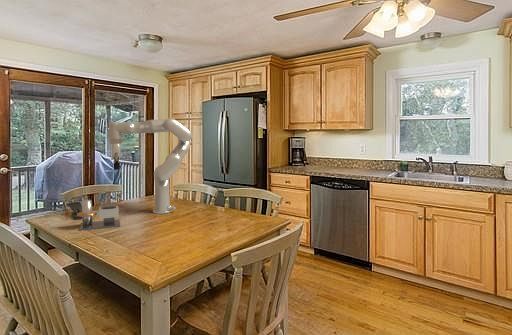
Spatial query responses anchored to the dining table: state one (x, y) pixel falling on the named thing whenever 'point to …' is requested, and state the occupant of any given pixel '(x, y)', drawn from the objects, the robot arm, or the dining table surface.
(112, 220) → the grey block
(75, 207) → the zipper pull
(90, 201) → the grey boxy fixture
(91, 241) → the dining table surface
